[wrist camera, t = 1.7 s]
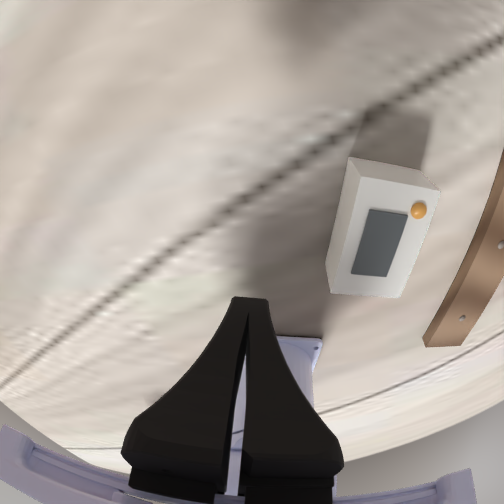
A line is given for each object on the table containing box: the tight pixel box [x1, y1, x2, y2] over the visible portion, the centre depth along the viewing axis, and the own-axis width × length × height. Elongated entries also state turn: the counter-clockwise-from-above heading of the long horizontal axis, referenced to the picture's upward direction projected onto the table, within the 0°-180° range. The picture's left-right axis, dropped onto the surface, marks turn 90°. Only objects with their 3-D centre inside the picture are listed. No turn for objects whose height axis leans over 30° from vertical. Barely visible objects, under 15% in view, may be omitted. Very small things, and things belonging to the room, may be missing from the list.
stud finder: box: [325, 157, 441, 298], centre depth 19 cm, size 8×5×4 cm, turn 176°
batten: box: [423, 150, 504, 347], centre depth 20 cm, size 24×4×1 cm, turn 177°
